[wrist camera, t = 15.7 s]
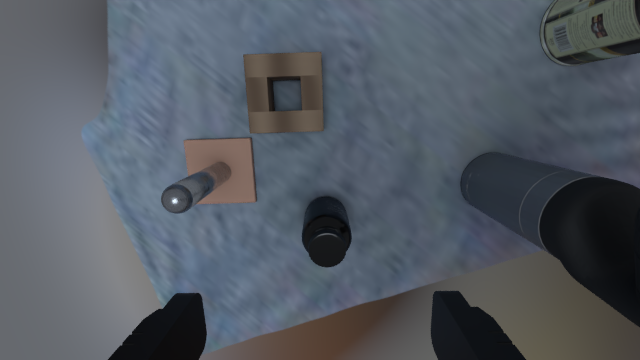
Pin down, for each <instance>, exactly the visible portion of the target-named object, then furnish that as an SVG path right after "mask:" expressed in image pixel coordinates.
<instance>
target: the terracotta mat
mask: <svg viewBox="0 0 640 360" xmlns="http://www.w3.org/2000/svg"><path fill="white" fill-rule="evenodd" d="M184 147H185V154H186V161H187V169H188V176H190V175H192V174H194V173H196V172H198V171H200V170H202V169H204V168H206V167H208V166H210V165H212V164H214V163H216V162H224V163H226V164H227V165H228V166H229V167H230V169H231V177H230V178H229V179H228V180H227V181H226V182H225V183H223V184H222V185H221V186H219V187H218V188H217V189H215V190H214V191H213V192H211V193H210V194H209V195H207V196H206V197H205V198H203V199H202V200H201V201H199V202H198V203H197V204H216V203H250V202H256V201H257V196H256V184H255V172H254V160H253V148H252V138H231V139H199V140H184Z"/></svg>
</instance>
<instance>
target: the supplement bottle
mask: <svg viewBox="0 0 640 360" xmlns="http://www.w3.org/2000/svg"><path fill="white" fill-rule="evenodd" d="M351 239H352V235H351V229H350V225H349V221H348V216H347V213H346V210H345V208H344V206H343V205H342V203H341V202H339V201H338V200H336V199H334V198H331V197H321V198H318V199H316V200H314V201H313V202H311V203H310V204H309V206H308V207H307V209H306V212H305V217H304V224H303V230H302V242H303V245H304V247H305V249H306V251H307V252H308V253H309V256H310V257H311V260H313V262H315V264H317V265H319V266H322V267H333V266H335V265H337V264H339V263H340V262H341V261H342V260H343V259H344V257H345V255H346V251H347V250H348V248H349V246H350V244H351Z"/></svg>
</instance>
